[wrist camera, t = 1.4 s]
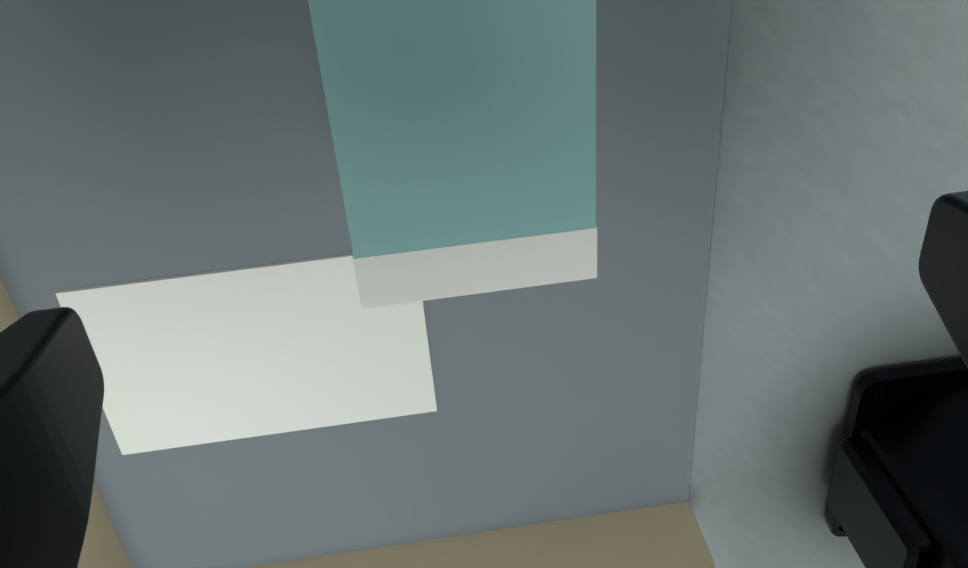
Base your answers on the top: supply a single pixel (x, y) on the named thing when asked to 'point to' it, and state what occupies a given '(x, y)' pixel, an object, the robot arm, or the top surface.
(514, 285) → the teal block
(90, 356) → the robot arm
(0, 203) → the board
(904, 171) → the top surface
